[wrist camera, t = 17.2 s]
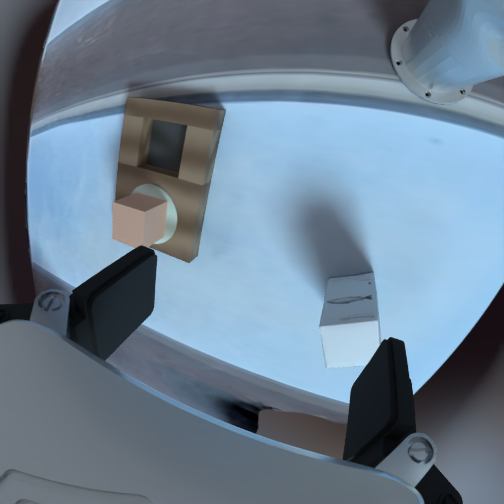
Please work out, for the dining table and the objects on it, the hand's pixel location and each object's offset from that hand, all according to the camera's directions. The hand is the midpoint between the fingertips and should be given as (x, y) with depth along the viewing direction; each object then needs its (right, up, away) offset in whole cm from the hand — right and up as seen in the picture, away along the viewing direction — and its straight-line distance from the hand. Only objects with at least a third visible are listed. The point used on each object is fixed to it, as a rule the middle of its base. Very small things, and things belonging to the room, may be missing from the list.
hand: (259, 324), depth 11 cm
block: (-16, +9, +35) cm, 39 cm away
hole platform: (-14, +15, +35) cm, 41 cm away
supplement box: (+15, -4, +34) cm, 37 cm away
